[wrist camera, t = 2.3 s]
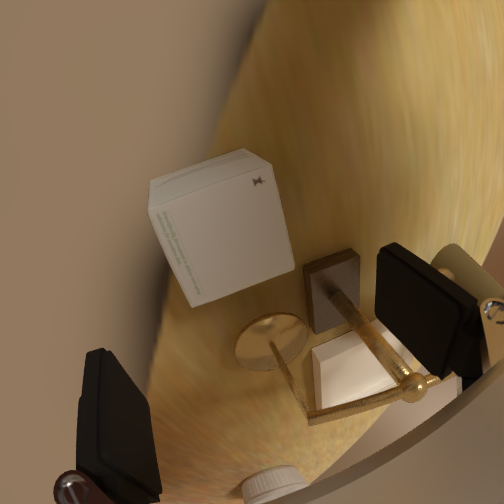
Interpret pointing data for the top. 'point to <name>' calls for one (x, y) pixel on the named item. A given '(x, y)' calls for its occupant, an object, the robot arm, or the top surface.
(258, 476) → the ramekin
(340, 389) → the dish
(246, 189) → the small box
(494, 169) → the top surface
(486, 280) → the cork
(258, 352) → the balance
